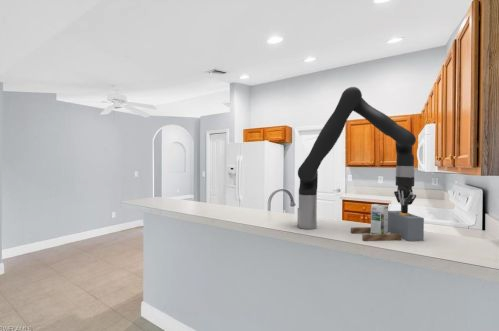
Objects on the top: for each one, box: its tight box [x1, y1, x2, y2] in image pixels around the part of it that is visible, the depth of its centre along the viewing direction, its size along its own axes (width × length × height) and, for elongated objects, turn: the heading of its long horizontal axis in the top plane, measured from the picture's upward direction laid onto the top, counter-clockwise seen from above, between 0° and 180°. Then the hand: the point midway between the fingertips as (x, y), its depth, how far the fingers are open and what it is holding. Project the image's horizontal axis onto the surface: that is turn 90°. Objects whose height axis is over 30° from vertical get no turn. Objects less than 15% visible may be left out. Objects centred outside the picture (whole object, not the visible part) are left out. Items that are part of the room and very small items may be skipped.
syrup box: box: [370, 203, 389, 234], centre depth 123 cm, size 6×6×14 cm
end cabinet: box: [388, 210, 425, 242], centre depth 124 cm, size 7×16×10 cm, turn 4°
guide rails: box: [350, 226, 402, 242], centre depth 123 cm, size 17×13×2 cm
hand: (404, 213), depth 123 cm, fingers closed
